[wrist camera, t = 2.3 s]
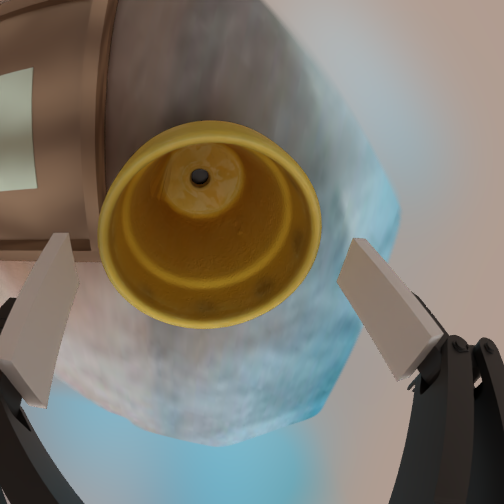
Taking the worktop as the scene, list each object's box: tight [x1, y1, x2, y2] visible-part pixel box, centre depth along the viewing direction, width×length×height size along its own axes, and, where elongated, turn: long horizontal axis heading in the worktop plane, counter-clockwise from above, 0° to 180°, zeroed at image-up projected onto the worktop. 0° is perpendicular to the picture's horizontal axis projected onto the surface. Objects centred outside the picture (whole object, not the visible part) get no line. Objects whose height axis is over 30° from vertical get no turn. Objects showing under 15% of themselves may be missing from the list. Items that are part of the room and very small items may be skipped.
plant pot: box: [97, 120, 322, 329], centre depth 17 cm, size 10×10×10 cm
